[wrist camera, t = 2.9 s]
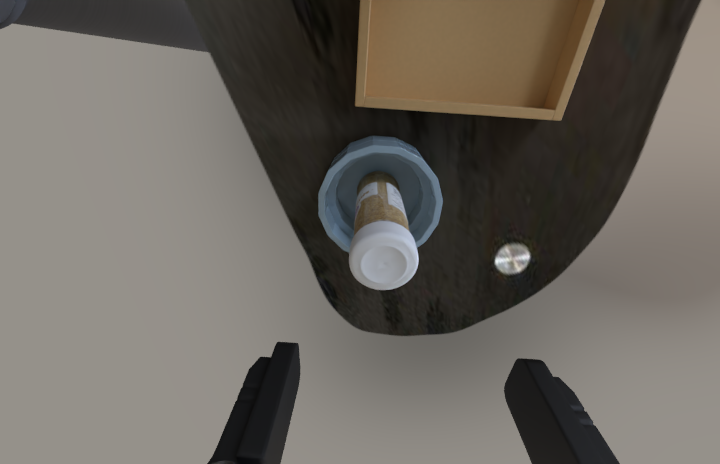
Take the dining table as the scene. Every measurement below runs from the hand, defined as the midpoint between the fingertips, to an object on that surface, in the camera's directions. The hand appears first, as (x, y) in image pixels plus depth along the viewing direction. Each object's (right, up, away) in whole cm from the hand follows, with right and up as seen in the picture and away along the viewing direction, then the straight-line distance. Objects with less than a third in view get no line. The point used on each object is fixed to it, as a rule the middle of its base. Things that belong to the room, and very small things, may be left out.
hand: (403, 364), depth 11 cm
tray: (+7, +22, +13) cm, 27 cm away
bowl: (0, +9, +20) cm, 22 cm away
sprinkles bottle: (0, +9, +20) cm, 22 cm away
